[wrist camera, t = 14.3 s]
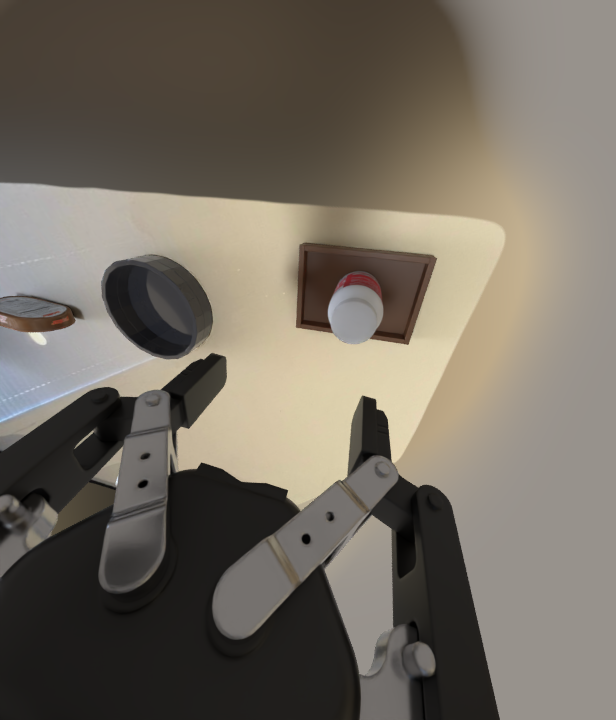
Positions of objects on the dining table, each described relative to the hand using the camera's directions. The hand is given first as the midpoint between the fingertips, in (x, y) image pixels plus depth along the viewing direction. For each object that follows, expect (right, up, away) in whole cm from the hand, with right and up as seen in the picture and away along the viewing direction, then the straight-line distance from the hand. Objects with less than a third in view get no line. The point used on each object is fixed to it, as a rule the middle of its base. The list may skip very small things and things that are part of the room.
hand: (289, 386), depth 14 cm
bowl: (-23, +11, +28) cm, 38 cm away
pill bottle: (+8, +11, +20) cm, 24 cm away
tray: (+8, +11, +20) cm, 24 cm away
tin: (-50, +13, +34) cm, 62 cm away
